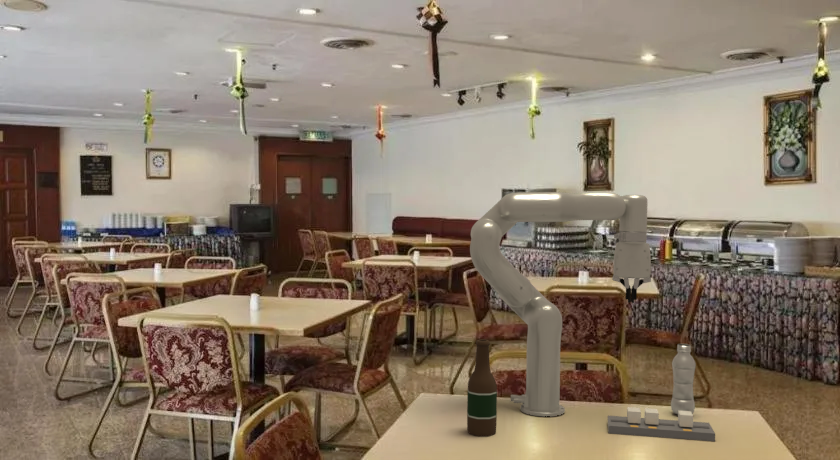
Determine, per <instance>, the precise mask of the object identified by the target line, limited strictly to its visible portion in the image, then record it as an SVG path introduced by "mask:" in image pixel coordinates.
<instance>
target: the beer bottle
mask: <svg viewBox="0 0 840 460" xmlns="http://www.w3.org/2000/svg"><path fill="white" fill-rule="evenodd" d="M475 345H476V351H475V365H474V370H473V372H472V373H471V374H470V377H469V378H468V382H467V399H466V400H467V402H466V403H467V408H466V409H467V411H466V412H467V413H466V426H467V427H466V428H467V431H468V433H469V435H471V436H474V437H491V436H494V435H496V433H497V417H498V416H497V415H498V414H497V410H498V409H497V407H498V398H497V397H498V390H497V381H496V379H495V377H494V375H493V373H492V372H491V371H492V370H491V366H490V365H491V364H490V345H491V343H490V340H488V339H484V338H481V339H477V340H476V341H475Z"/></svg>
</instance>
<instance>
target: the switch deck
mask: <svg viewBox="0 0 840 460" xmlns="http://www.w3.org/2000/svg"><path fill="white" fill-rule="evenodd" d="M607 432H608V434H614V435H625V436H638V437H639V436H640V437H650V438H652V437H653V438H666V439H677V440H690V441H691V440H693V441H703V442H704V441H706V442H716V433H715V431H714V429H713V427H712V425H711V424H710V422H704V421H693V427H681V426H679V423H678V419H674V420H673V419H664V418H660V419H659V424H658V425H654V424H646V423H645V420H644V417H641V424H640V423H628V420H627V416H620V415H619V416H618V415H607Z"/></svg>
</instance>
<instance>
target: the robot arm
mask: <svg viewBox="0 0 840 460" xmlns="http://www.w3.org/2000/svg"><path fill="white" fill-rule="evenodd" d="M615 220H619V229H618V230H619V232H617V233H614V234H613V238H614V239H617V240H618V242H616V244H615V246H614V247H615V248H614V255H613V275H612V278H611V279H612V281H614V282H617V283H621V285H622V286H623V287H624V288H625V300H627V303H628V304H630V303H632V304H634V303H635V301H637V298H638V297H637V294H638V293H637V292H638V288H639V287H640V286H642V285H643V284H647V283H651V282H652V278H651V273H652V264H651V263H652V261H651V257H652V256H651V247H650V243H649V242H648V243H647V235H648V233H647V231H648V228H647V227H648V197H647V196H646V195H641V194H624V195H620V194H618V193H614V192H605V193H603V192H602V193H601V192H598V193H597V192H596V193H593V192H592V193H590V192H588V193H586V192H585V193H582V192H581V193H579V192H578V193H577V192H564V191H552V192H551V191H550V192H549V191H540V192H539V191H535V192H534V191H530V192H526V191H525V192H523V191H521V192H519V191H518V192H510V193H507V194H506V195H504V196H502V197H501V199H499V201H497V203H496V204H495V205H493V206H492V207H491V208H490V209H489V210H487V212H485V214H484V215H482V216H481V217H480V218H479V219H478V220H477V221H476V222H475V223H474V224H473V225H472V227H471V229H470V238H471V239H470V244H469V254H470V259H471V262H472V264H473V267H474V268H475V270H476V271H477V272H478V273H479V275H480V276H481V277H482V278H483V279H484V280H485V281H486V282H487V283H488V285H490V287H491V288H493V290H495V292H496V293H497V294H498V295H499V298H500V299H501V300H502V301H503V302H504V303H505V304H506V305H507V306H508V307H509V308H510V309H511V310H512V311H513V312H514V313H515V314H516V315H517V316H518V317H519V318H520V319H521V320H522V321H523V322H524V323H525V324H526V325H527V334H526V335H527V337H526V371H525V372H526V374H525V375H526V376H525V377H526V378H525V379H526V380H525V383H526V384H525V393H524V394H523V393H522V394H521V395H518V394H511V395H510V402H513V403H514V404H520V412H522V413H524V414H526V415H529V414H530V415H531V416H536V417H545V416H546V417H547V416H550V417H558V416H557V415H559V416H561V414H562V415H564V414H565V413H564V412H566V408H565V407H564V406H563V405H561V404H560V401H561V399H560V394H561V392H560V390H561V387H560V386H561V340H562V332H563V317H562V314H561V310H560V309H559V308H558V307H557V306H556V304H554V303H552V301H549V299H547V298H546V297H545V296H544V295H543V294H542V293H541V292H540V291H539V290H538V289H537V288H536V287H535V286H534V285H533V284H532V282H531V281H530V280H529V278H527V277H526V276H525V275H523V274H522V273H521V272H520V271H519V270H518V269H517V268H515V267H514V266H513V264H511V262H510V261H509V260H508V259H507V257H506V256H504V255H503V253H502V251H501V249H500V248H501V247H500V245H501V240H502V238H503V236H505V234H506V233H508V232H509V231H510V230H511V229H513V227H514V226H516V224H518V223H545V222H546V223H560V222H561V223H563V222H564V223H567V222H574V221H615ZM629 279H634V280H633V284H632V286H630V280H629ZM563 413H564V414H563Z"/></svg>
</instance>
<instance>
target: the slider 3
mask: <svg viewBox="0 0 840 460" xmlns="http://www.w3.org/2000/svg"><path fill="white" fill-rule="evenodd" d="M677 420H678V423H679V426H681V427H693V422H694V413H693V414H692V412H691V411H679V410H678V414H677Z"/></svg>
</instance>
